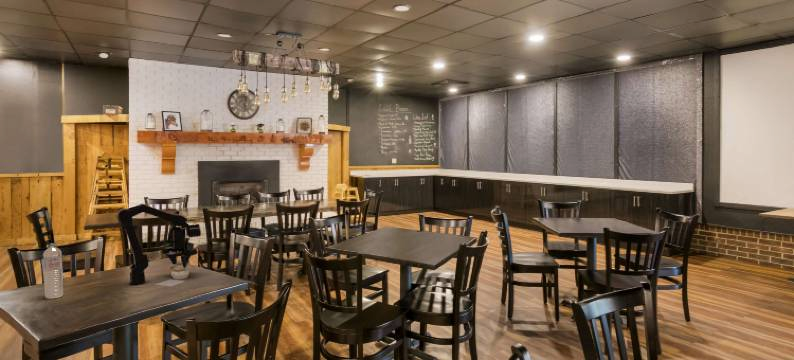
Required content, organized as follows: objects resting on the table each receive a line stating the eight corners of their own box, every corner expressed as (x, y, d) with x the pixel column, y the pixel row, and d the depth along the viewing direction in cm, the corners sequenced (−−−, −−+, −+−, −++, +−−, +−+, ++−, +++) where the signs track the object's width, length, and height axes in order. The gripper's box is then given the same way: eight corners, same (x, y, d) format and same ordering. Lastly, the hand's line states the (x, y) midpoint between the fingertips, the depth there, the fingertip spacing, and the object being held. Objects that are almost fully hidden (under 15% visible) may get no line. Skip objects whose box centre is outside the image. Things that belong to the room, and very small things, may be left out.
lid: (169, 269, 239) (169, 265, 238) (181, 265, 246) (181, 262, 246) (178, 270, 237) (178, 266, 237) (190, 266, 244) (190, 263, 244)
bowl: (167, 279, 239) (167, 271, 239) (180, 275, 247) (179, 267, 247) (180, 281, 237) (180, 272, 236) (192, 276, 244) (192, 268, 244)
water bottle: (43, 300, 205) (41, 245, 203) (46, 295, 211) (44, 243, 209) (61, 298, 208) (59, 244, 206) (64, 293, 214) (62, 241, 213)
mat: (154, 285, 228) (154, 284, 228) (170, 280, 238) (170, 279, 238) (170, 287, 225) (170, 286, 225) (185, 282, 235) (185, 281, 235)
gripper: (204, 236, 245) (205, 265, 246) (177, 234, 251) (177, 262, 252) (189, 240, 235) (189, 270, 236) (160, 238, 240) (161, 267, 241)
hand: (180, 267), depth 241 cm, fingers closed on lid, 6 cm apart
